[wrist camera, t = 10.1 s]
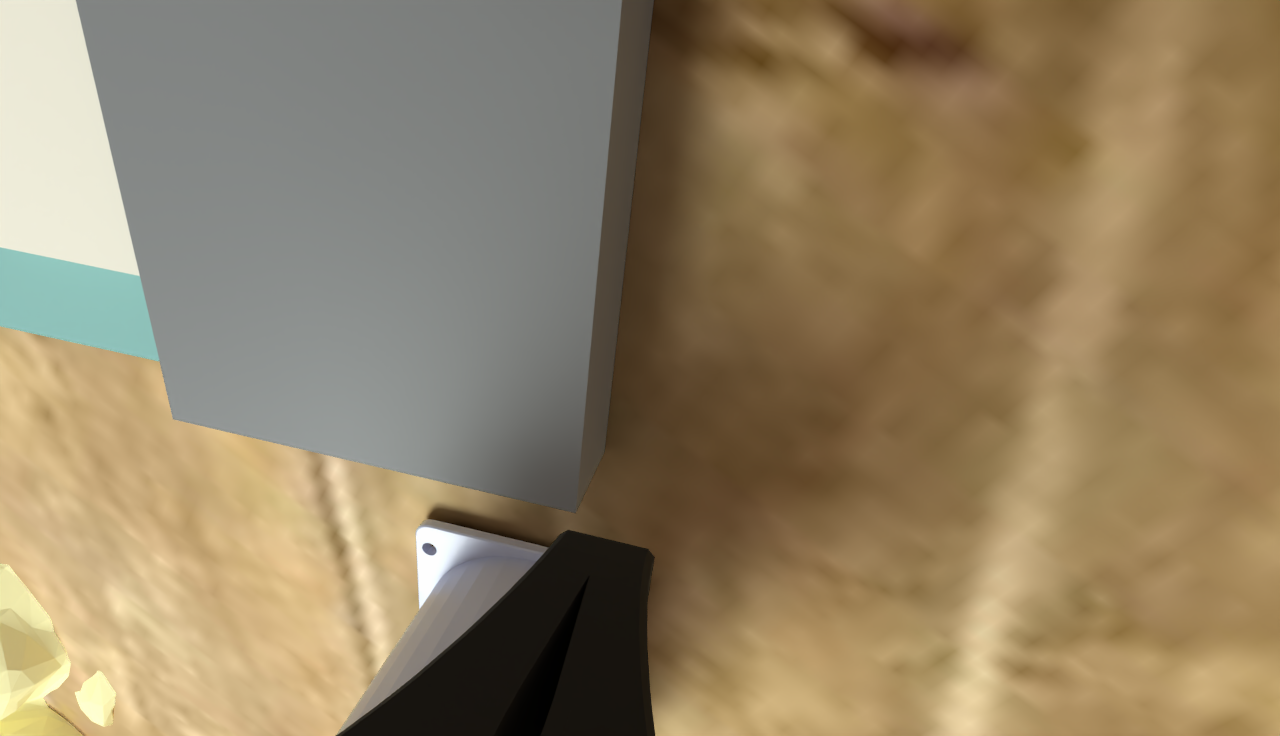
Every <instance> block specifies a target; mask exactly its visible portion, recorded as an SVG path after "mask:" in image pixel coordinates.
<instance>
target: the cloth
mask: <svg viewBox="0 0 1280 736" xmlns="http://www.w3.org/2000/svg"><path fill="white" fill-rule="evenodd" d="M70 665H71V662H70V660H69V658H68V656H67V652H66V650H65V648H64V647H63V645H62V643H61V642H60V640H59V639H58V637H57V636H56V634H55V632H54V628H53V625H52V621H51V618H50V617H49V615H48V614H47V613H46V611H45V610H44V609H43V608H42V606H41V605H40V604H39V602H38V601H37V600H36V599H35V597H34V596H33V595H32V594H31V592H30V591H29V590H28V588H27V587H26V586H25V585H24V584H23V582H22V581H21V580H20V579H19V578H18V576H17V575H16V574H15V573H14V571H13V570H12V569H11V567H10V566H9V565H6V564H1V563H0V736H83V735H82V734H81V733H80V732H79V731H78V730H77V729H76V728H75V727H74V726H73V725H72V724H70V723H69V722H68V721H67V720H65V719H64V718H63V717H61V716H60V715H59V714H57V713H56V712H54V711H53V710H51V709H50V708H49V707H48V706H47V704H46V702H45V701H44V699H43V697H44V696H45V695H47V694H48V693H49V692H51V691H53V690H55V689H57V688H58V687H59V686H60V685H61V684H62V683H63V682H64V681H65V679H66V678H67V677H68V676H69V670H70ZM75 694H76V697H77V701H78V703H79V706H80V708H81V710H82V711H83V712H84V713H85V714H86V715H87V716H88V717H89V718H90V720H91V721H93V722H95V723H97V724H99V725H101V726H103V727H104V726H110V725H113V709H114V705H115V696H116V693H115V691H114V690H113V688H112V687H111V685H110V684H109V682H108V681H107V679H106V678H105V676H104V674H103V673H102V672H101V671H97V673H96V674H95V675H94V676H92V677H91V678H90V679H88V680H87V681H85V682H84V683H83V686H82V689H81V691H78V692H75Z"/></svg>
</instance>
